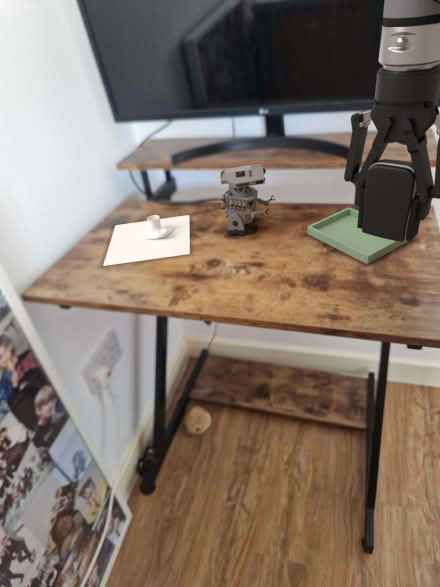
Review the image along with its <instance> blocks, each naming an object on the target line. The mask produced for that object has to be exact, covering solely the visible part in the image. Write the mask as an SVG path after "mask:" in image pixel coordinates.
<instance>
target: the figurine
mask: <svg viewBox="0 0 440 587" xmlns="http://www.w3.org/2000/svg"><path fill="white" fill-rule="evenodd" d="M266 172H267V171H266V168H264V167H263V162H256V163H253V164H248V165H247V164H246V165H241V166H235V167H230V168H229V167H228V168H225V169H222V170H221V171H220V177H219V178H220V179H219V180H220V185H221V186H222V185H229V186H228V189H227V191H226V192H224V194H222V195H221V206H220V209H221V210H224V213H223V214H224V215H223V218H224V219H225V220H226V221H227V234H228V235H229V236H232V235H233V236H235V235H238V236H245V235H246V234H247V229H246V227H245V225H246V224H252V222H253V221H254V220H255V218H259V219H261V218H262V217H263V216H264V215H268V216H269V214H270V212H269V210H270V208H269V205H270V202H271V201H276V198H275V196H274V195H273V194H272V195H271V196H270V198H269V199H268V200H266V199H262V198H261V197H259V198H258V194H259V190H257V189H256V188H254V187H253V186H259V185H264V184H266V177H265V174H266ZM257 204H258V205H264V206H265V207H267V209H266V210H265V211H263V212H262V211H258V212H256V210H257Z"/></svg>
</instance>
